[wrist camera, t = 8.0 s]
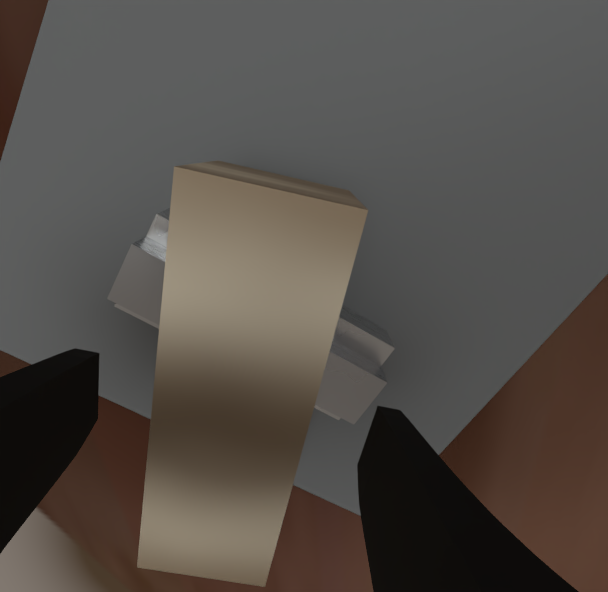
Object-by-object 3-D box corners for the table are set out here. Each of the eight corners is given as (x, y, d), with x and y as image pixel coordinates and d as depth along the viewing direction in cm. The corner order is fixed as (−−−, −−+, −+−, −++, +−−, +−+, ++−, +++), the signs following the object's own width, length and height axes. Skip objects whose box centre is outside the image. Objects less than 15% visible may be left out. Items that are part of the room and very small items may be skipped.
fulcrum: (387, 331, 16) (402, 364, 14) (336, 398, 18) (341, 440, 15) (170, 207, 15) (142, 219, 12) (131, 292, 16) (97, 319, 13)
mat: (766, 84, 13) (786, 81, 13) (373, 512, 21) (375, 522, 20) (195, -433, 10) (188, -469, 9) (-38, 321, 17) (-49, 327, 16)
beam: (274, 483, 16) (264, 586, 12) (177, 467, 16) (137, 567, 12) (348, 190, 12) (368, 210, 8) (217, 160, 11) (173, 166, 8)
